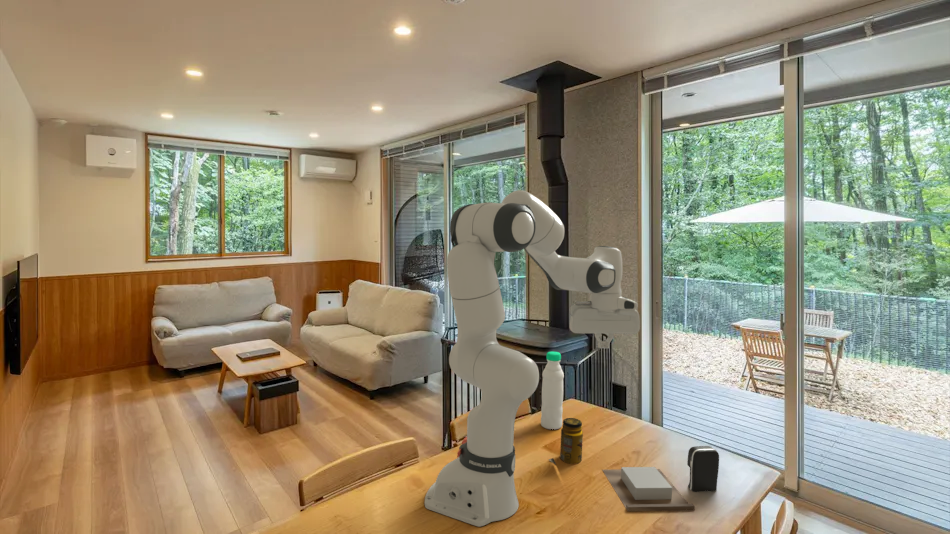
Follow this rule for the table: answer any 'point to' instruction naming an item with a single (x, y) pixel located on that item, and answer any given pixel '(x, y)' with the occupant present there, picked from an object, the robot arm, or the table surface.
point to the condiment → (571, 441)
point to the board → (646, 505)
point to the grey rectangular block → (646, 483)
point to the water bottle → (552, 392)
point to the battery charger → (703, 468)
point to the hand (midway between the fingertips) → (603, 347)
